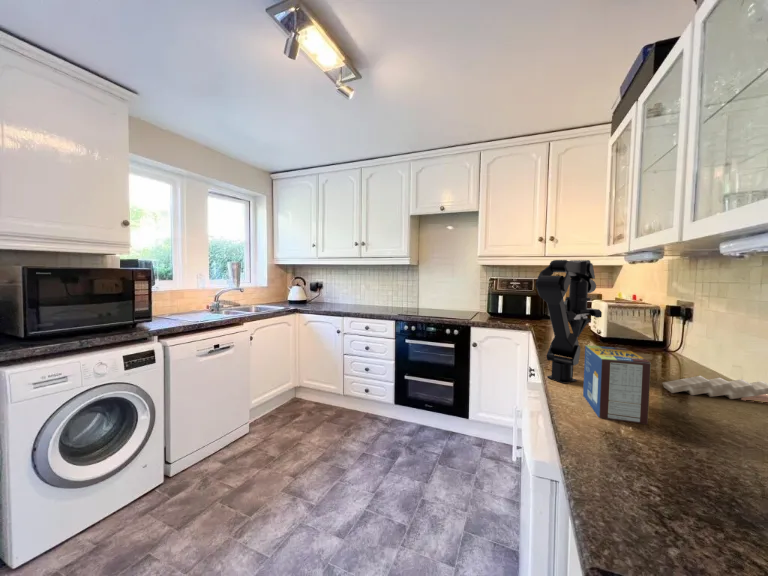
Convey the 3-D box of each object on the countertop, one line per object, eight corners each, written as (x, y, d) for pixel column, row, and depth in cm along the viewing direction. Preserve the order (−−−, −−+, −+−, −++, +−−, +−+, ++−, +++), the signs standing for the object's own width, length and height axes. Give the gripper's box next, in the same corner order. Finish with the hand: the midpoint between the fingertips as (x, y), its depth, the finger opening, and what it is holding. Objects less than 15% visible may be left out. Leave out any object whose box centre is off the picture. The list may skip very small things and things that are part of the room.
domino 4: (727, 393, 93) (774, 387, 88) (718, 387, 97) (762, 381, 93) (730, 399, 92) (776, 392, 88) (720, 392, 97) (764, 386, 93)
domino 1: (669, 387, 97) (710, 380, 94) (662, 382, 102) (700, 375, 98) (671, 393, 97) (712, 386, 93) (664, 387, 102) (702, 380, 98)
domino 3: (707, 391, 94) (752, 385, 90) (699, 385, 99) (742, 379, 94) (710, 396, 94) (755, 390, 90) (701, 390, 99) (744, 384, 94)
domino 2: (689, 390, 95) (730, 382, 92) (680, 384, 100) (719, 377, 96) (691, 395, 95) (733, 388, 92) (682, 389, 100) (722, 382, 96)
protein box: (623, 400, 91) (626, 347, 90) (648, 425, 76) (652, 362, 76) (582, 395, 94) (584, 344, 93) (598, 418, 80) (601, 358, 79)
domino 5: (741, 395, 92) (789, 401, 88) (730, 389, 97) (775, 395, 93) (741, 401, 92) (788, 407, 89) (729, 395, 97) (774, 400, 93)
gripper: (574, 292, 125) (573, 331, 126) (540, 293, 118) (539, 334, 119) (603, 294, 115) (601, 336, 116) (568, 296, 108) (566, 341, 109)
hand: (576, 337), depth 115 cm, fingers closed
